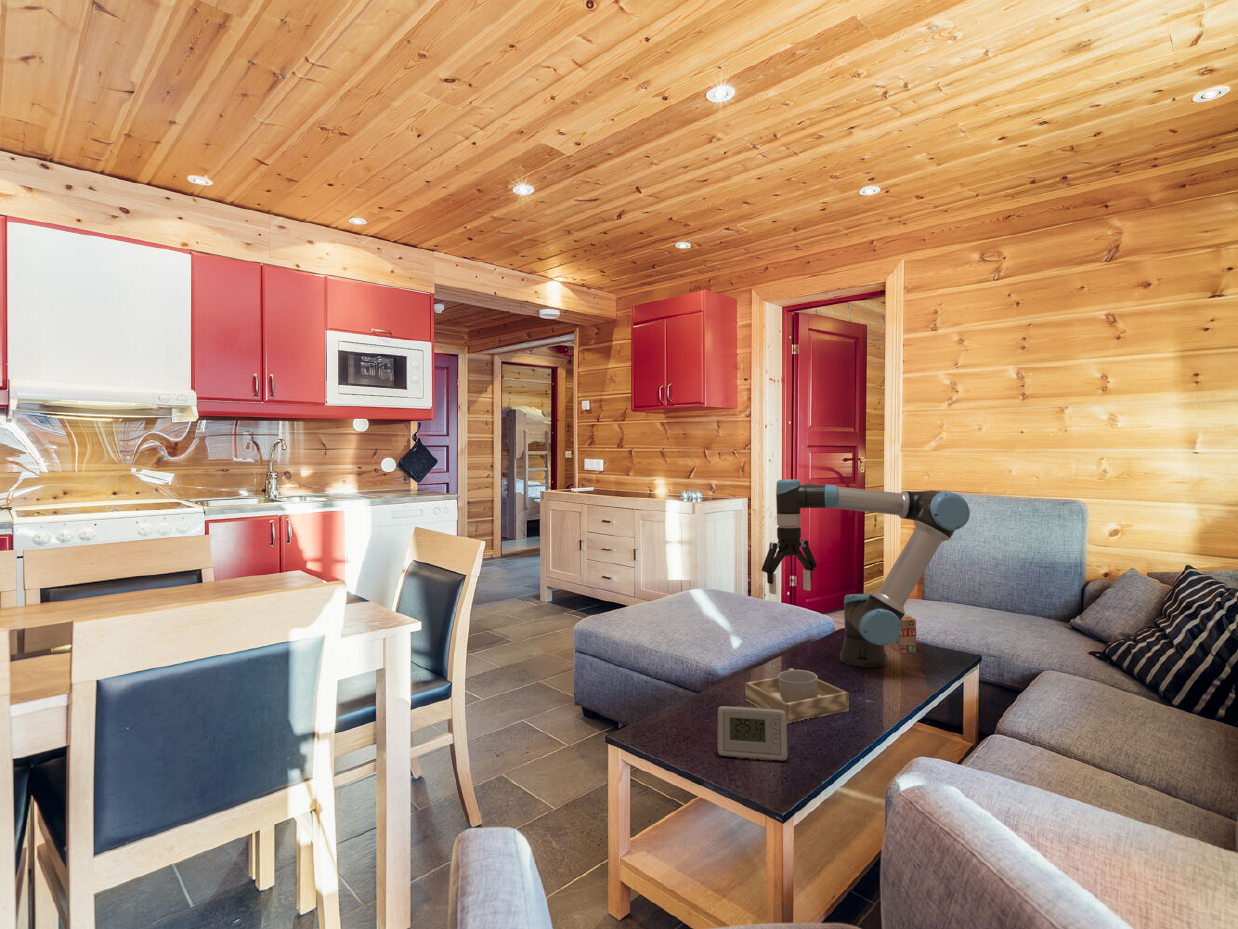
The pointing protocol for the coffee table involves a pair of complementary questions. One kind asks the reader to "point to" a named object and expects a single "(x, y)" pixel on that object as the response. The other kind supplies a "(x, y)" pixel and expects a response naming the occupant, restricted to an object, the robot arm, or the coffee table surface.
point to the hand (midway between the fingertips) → (790, 591)
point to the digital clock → (752, 733)
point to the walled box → (822, 705)
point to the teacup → (797, 685)
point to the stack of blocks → (906, 636)
